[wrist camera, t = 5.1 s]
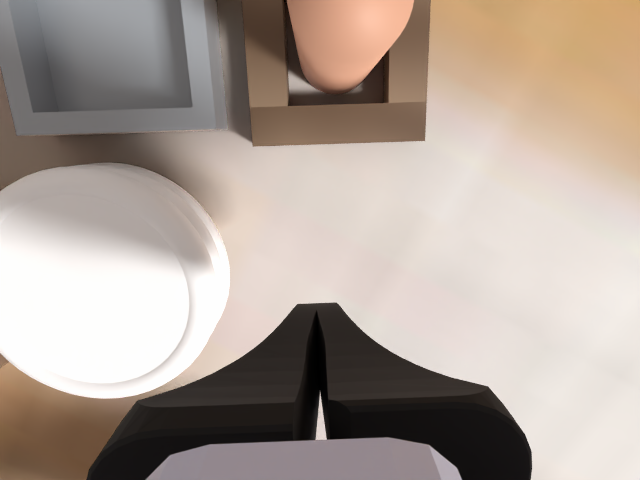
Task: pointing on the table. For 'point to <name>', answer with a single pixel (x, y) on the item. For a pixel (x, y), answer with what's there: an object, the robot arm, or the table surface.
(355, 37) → the dowel
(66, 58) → the tray
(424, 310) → the table surface
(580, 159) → the table surface
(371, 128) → the collar
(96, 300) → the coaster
